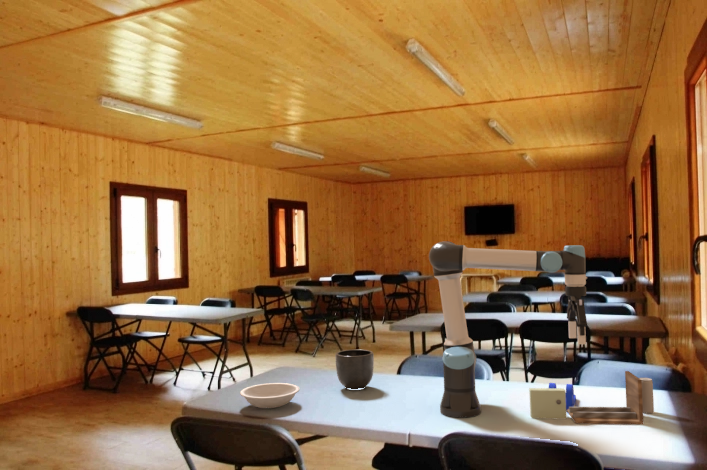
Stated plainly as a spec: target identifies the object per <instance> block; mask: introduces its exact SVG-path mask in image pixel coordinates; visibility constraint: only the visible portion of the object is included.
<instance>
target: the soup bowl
mask: <svg viewBox="0 0 707 470" xmlns="http://www.w3.org/2000/svg"><path fill="white" fill-rule="evenodd" d="M299 391H300V386H298V385H296V384H292V383H286V382H285V383H284V382H268V383H260V384H259V383H258V384H255V385H254V384H253V385H250V386H248V387H244V388H243V389H242V390H240V392H239V394H240V395H241V396H242V397H243V398H244V399H245V400H246V401H247V402H248V403H249V404H250V405H251V406H253V407H255V408H260V409H274V408H279V407H283V406H285V405H286V404H288V403H290V402H291V401H292V400H293V398H294V397H295V395H297V393H299Z"/></svg>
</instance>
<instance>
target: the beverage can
mask: <svg viewBox="0 0 707 470" xmlns="http://www.w3.org/2000/svg"><path fill="white" fill-rule="evenodd" d="M638 378H639V379H641V380H642V401H643V414H646V413H647V414H648V415H649V414H653V413H654V412H655V408H654V407H655V406H654V385H653V383H654V382H653V379H652V378H651V377H650V378H649V377H638Z"/></svg>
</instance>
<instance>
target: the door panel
mask: <svg viewBox="0 0 707 470" xmlns="http://www.w3.org/2000/svg"><path fill="white" fill-rule="evenodd" d="M528 390H529V392H528V393H529V411H530V413H529V415H530V418H531V419H554V420H555V419H565V420H566V419H567V410H566V394H565V393H566V389H565V388H557V387H556V388H549V387H548V388H545V387H544V388H543V387H541V388H540V387H538V388H537V387H535V388H531V387H529V389H528Z"/></svg>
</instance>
